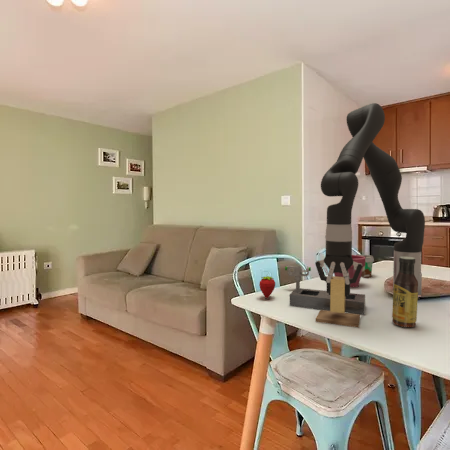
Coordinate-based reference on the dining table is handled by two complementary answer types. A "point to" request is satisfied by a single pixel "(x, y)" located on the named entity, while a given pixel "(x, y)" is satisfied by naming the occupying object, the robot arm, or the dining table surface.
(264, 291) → the strawberry
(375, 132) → the robot arm
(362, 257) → the plant pot
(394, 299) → the sauce bottle
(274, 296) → the dining table surface
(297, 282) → the mechanical component
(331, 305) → the brass peg
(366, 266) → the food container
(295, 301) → the grey slotted block
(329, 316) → the walnut board
